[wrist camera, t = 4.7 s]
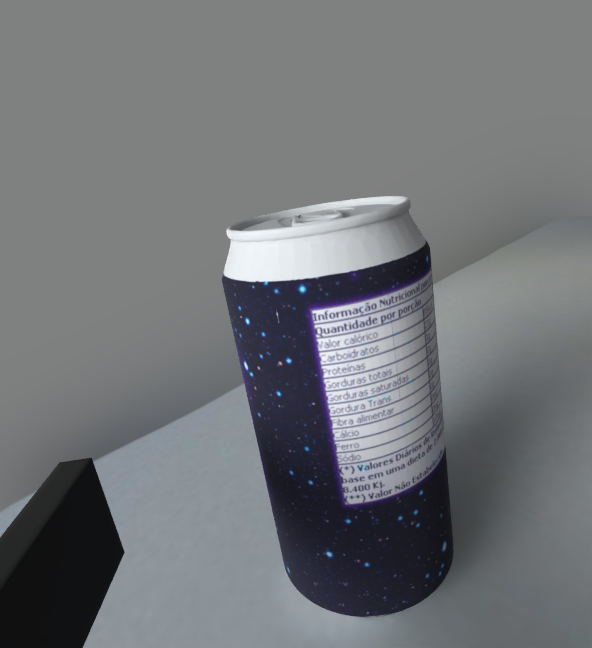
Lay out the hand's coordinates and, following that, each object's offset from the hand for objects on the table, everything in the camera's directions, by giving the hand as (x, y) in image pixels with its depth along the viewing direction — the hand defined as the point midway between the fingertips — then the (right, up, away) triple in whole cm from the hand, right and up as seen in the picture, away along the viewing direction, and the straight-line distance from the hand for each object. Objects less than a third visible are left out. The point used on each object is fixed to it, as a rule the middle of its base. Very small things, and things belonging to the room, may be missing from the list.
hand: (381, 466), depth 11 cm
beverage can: (+1, -5, +6) cm, 8 cm away
